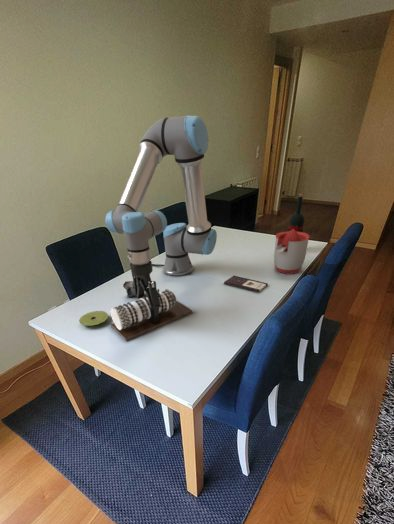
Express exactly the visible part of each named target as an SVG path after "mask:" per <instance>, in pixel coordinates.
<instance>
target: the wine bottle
mask: <svg viewBox="0 0 394 524" xmlns="http://www.w3.org/2000/svg"><path fill="white" fill-rule="evenodd" d="M303 195H304V193H299V194H298V196H297V201H296V202H297V203H296V209H295V213H293V214H292V215H291V216H290V218H289V223H288V230H287V231H291V230H292V229H294V230H295V231H296V232H303V229H304V224H305V223H304V222H305V216H304V215H303V214H302V213H301V210H302V203H303Z"/></svg>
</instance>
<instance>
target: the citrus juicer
mask: <svg viewBox="0 0 394 524" xmlns="http://www.w3.org/2000/svg"><path fill="white" fill-rule="evenodd" d="M309 239H310V234H309V233H307V232H303V231H302V232H296V231H295V230H294V229H292V230H291V231H288V230H287V231H281V232H278V233H276V234H275V243H274V250H273V251H274V253H273V259H274V267H275V270H276V271H277V272H278V273H281V274H287V275H292V274H296V273H298V272H300V270H301V269H302V267H303V265H304V262H305V260H306V255H307V250H308V244H309Z"/></svg>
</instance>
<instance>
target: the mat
mask: <svg viewBox="0 0 394 524" xmlns="http://www.w3.org/2000/svg"><path fill="white" fill-rule="evenodd" d="M108 317H109V314H108V313H107V312H106V311H103V310H95V311H90V312H89V311H88V312H87V313H85V314H83V315H81V316H80V318H79V320H78V322H79V323H80V324H81V325H82V326H88V327H89V326H90V327H91V326H96V325H100V324H102V323H104V322H106V320H107V319H108Z"/></svg>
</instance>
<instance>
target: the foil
mask: <svg viewBox="0 0 394 524" xmlns="http://www.w3.org/2000/svg"><path fill="white" fill-rule="evenodd" d="M122 287H123V289H125V290H126V294H127V295H126V297H127V298H132V297H133V296H135V294H134V285H133V280H130V281H129V280H128V281H126V280H125V282H124V283H123V285H122ZM147 288H149V287H147ZM157 292H160V288H157ZM144 295H145V298H146V297H147V294H146V292H145V291H144Z"/></svg>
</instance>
